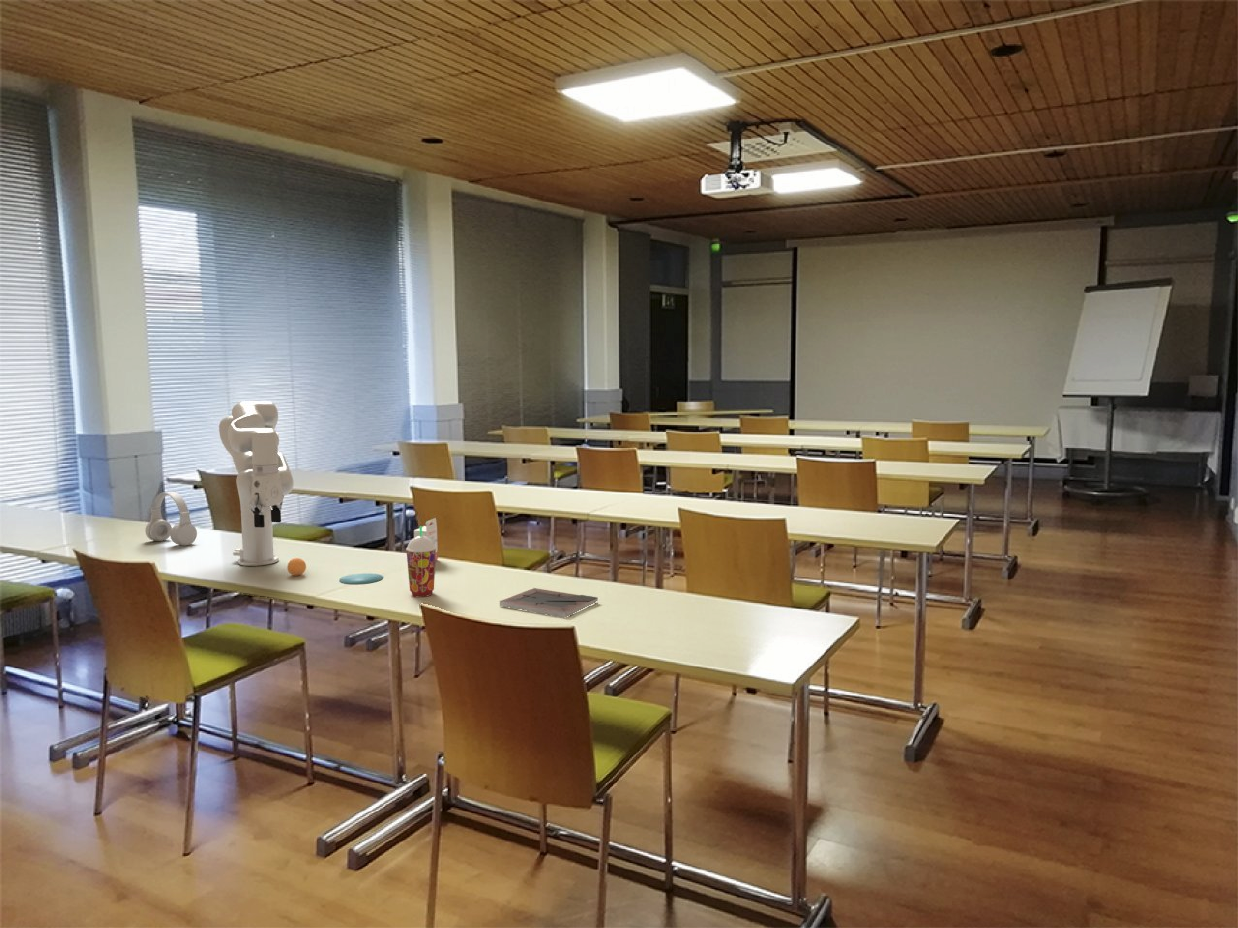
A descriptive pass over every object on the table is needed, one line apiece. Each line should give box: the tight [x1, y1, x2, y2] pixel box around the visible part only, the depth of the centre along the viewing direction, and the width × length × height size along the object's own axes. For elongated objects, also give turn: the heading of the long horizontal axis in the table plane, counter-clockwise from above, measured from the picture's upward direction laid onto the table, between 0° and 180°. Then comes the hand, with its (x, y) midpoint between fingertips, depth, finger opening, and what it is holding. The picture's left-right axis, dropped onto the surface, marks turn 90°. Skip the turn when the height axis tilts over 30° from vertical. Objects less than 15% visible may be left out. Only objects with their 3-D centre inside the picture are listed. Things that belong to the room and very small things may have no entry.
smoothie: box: [405, 525, 436, 597], centre depth 244 cm, size 8×8×20 cm
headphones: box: [145, 491, 198, 547], centre depth 315 cm, size 20×8×19 cm, turn 60°
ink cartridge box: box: [413, 517, 439, 562], centre depth 285 cm, size 9×5×15 cm, turn 168°
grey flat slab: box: [499, 587, 599, 618], centre depth 234 cm, size 16×2×22 cm
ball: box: [287, 557, 307, 577], centre depth 266 cm, size 6×6×6 cm
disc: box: [338, 572, 384, 585], centre depth 262 cm, size 13×13×1 cm
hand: (268, 524), depth 267 cm, fingers open, 8 cm apart
